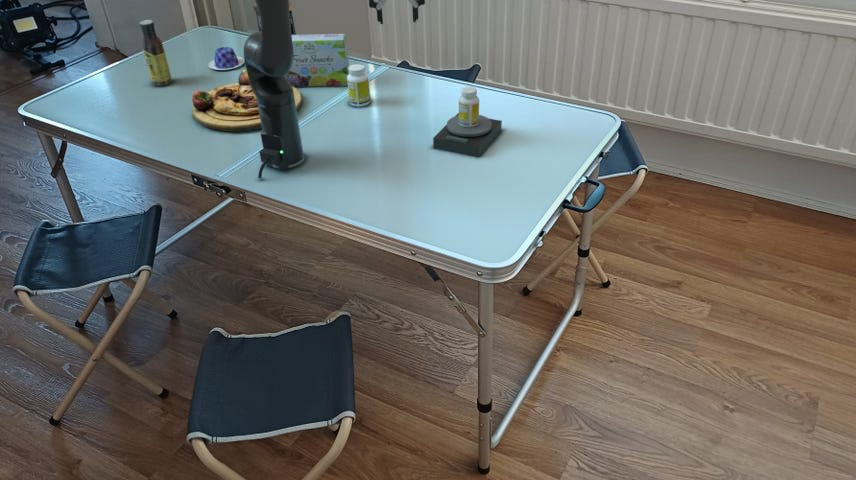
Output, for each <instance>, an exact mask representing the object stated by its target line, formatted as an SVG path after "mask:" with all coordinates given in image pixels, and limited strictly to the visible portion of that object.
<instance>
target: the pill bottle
mask: <svg viewBox="0 0 856 480" xmlns="http://www.w3.org/2000/svg"><path fill="white" fill-rule="evenodd" d="M348 70H349V75H348V76H347V83H348V86H347V90H348V98H349V104H350V105H351V106H353V107H357V108H358V107H361V108H362V107H365V106H367V105H369V104H370V103H371V92H370V82H369V76H368V73H366V67H365V65H364V64H360V63H357V64H351V65H349V68H348Z"/></svg>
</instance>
